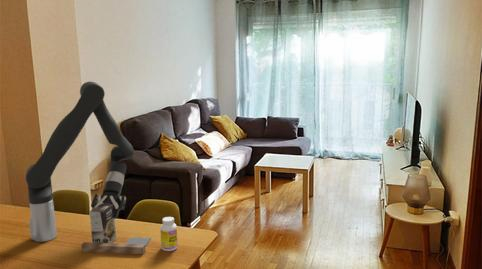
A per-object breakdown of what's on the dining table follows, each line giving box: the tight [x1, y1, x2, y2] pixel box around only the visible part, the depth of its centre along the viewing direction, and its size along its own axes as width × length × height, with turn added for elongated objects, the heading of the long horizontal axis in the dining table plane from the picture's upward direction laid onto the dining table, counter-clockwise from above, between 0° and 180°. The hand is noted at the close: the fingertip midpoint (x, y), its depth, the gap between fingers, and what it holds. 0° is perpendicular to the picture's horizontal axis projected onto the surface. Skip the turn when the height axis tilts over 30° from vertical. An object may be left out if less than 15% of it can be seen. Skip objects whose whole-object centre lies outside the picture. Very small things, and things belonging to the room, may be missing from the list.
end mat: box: [125, 237, 152, 248], centre depth 168 cm, size 9×10×1 cm
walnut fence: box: [81, 241, 146, 255], centre depth 161 cm, size 26×2×3 cm, turn 84°
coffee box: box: [89, 203, 117, 243], centre depth 168 cm, size 9×6×16 cm
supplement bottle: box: [159, 216, 178, 252], centre depth 163 cm, size 7×7×13 cm
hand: (104, 218), depth 169 cm, fingers open, 8 cm apart
